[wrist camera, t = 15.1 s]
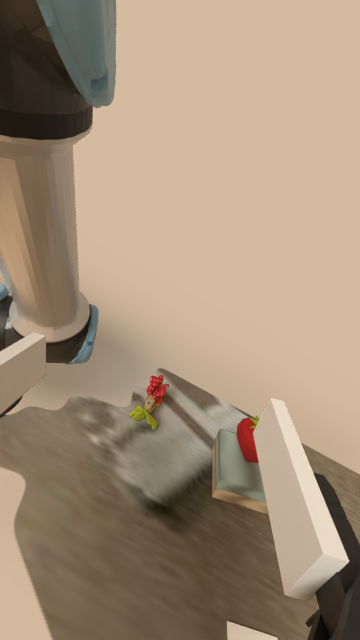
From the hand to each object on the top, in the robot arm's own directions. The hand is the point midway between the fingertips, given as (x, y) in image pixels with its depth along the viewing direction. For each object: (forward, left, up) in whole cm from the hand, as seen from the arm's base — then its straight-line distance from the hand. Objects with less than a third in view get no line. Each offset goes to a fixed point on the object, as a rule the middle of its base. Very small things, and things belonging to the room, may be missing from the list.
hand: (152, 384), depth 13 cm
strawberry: (+17, +20, -27) cm, 38 cm away
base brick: (+17, +20, -32) cm, 42 cm away
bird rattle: (-3, +28, -32) cm, 43 cm away
